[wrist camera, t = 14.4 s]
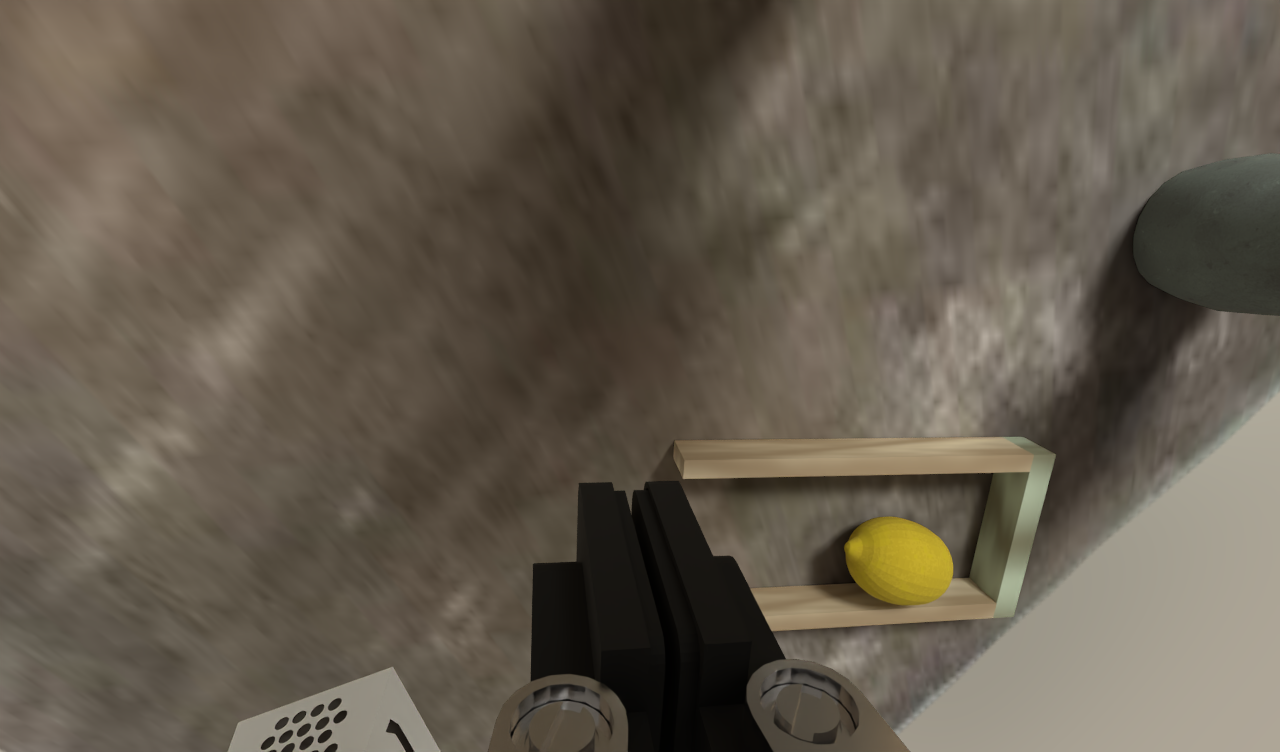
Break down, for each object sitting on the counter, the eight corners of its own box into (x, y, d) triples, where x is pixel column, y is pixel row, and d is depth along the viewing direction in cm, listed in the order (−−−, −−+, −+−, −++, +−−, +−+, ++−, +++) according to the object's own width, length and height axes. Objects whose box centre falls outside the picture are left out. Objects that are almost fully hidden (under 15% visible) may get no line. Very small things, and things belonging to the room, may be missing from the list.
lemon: (833, 607, 40) (936, 632, 42) (884, 557, 37) (993, 586, 39) (813, 537, 45) (907, 562, 47) (857, 487, 42) (956, 516, 44)
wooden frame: (674, 440, 40) (684, 460, 37) (1022, 436, 44) (1056, 454, 41) (662, 607, 44) (670, 637, 41) (985, 590, 47) (1013, 616, 45)
